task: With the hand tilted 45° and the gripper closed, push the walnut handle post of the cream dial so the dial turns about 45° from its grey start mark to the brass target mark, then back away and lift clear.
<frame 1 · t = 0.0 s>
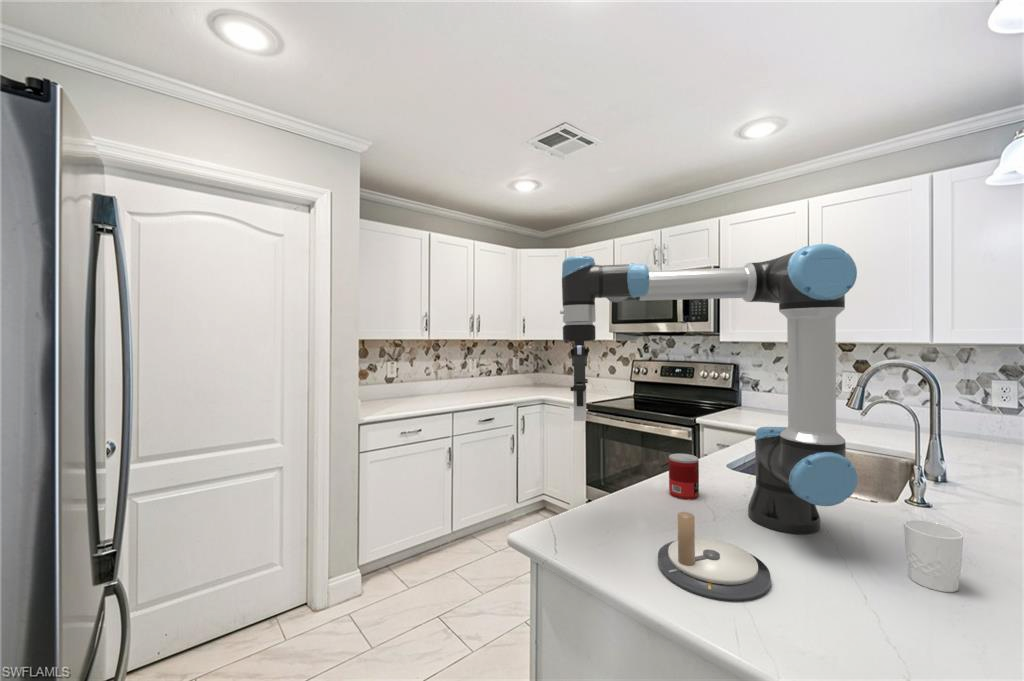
hand: (580, 415, 102), 28 cm above the counter, tool pointing down, fingers open, 13 cm apart
canned food: (683, 495, 126), on the counter
dial base: (711, 570, 86), on the counter
white cup: (932, 583, 81), on the counter
dial: (711, 536, 86), point 7 cm above the counter, hinge at 0.0°
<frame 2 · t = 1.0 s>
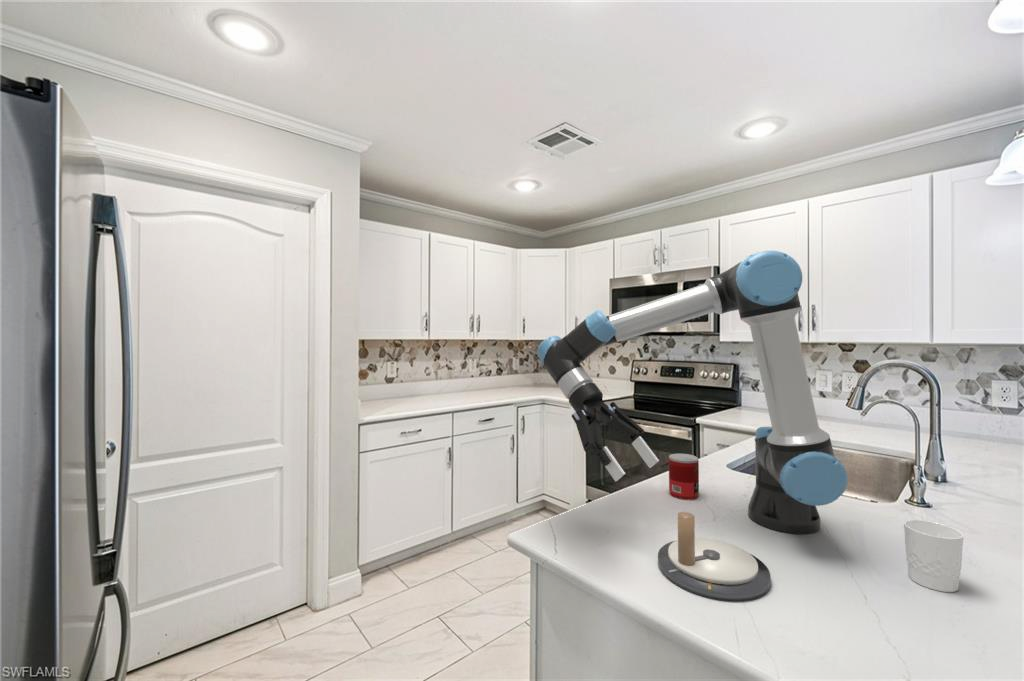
hand: (638, 470, 91), 18 cm above the counter, tool tilted 45°, fingers open, 12 cm apart
nothing on the counter moved.
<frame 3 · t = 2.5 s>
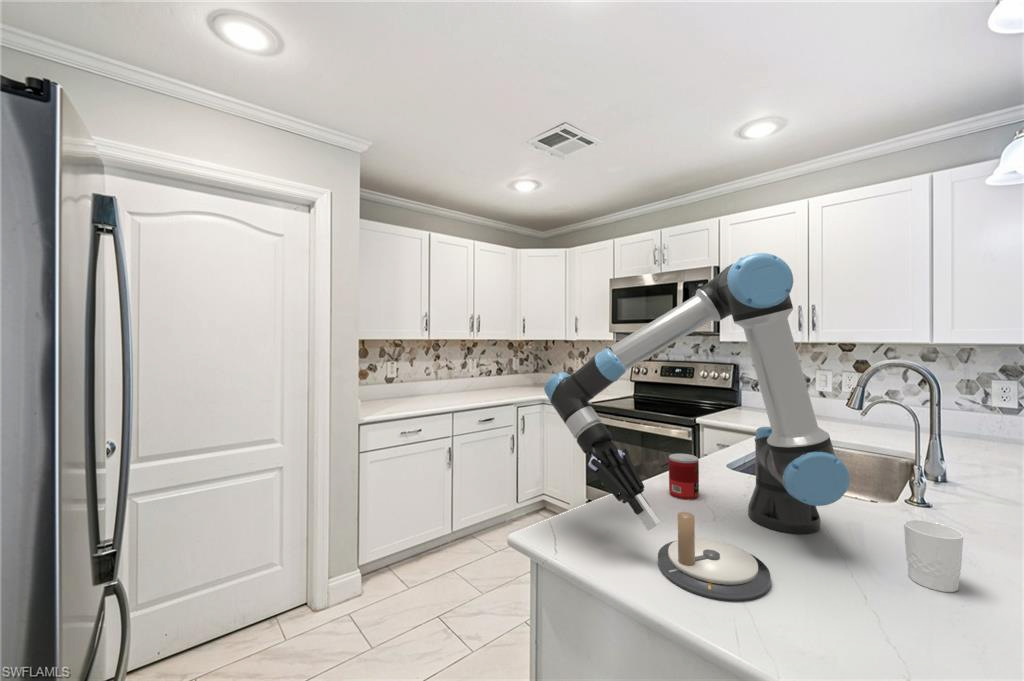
hand: (654, 526, 89), 8 cm above the counter, tool tilted 45°, fingers closed
nothing on the counter moved.
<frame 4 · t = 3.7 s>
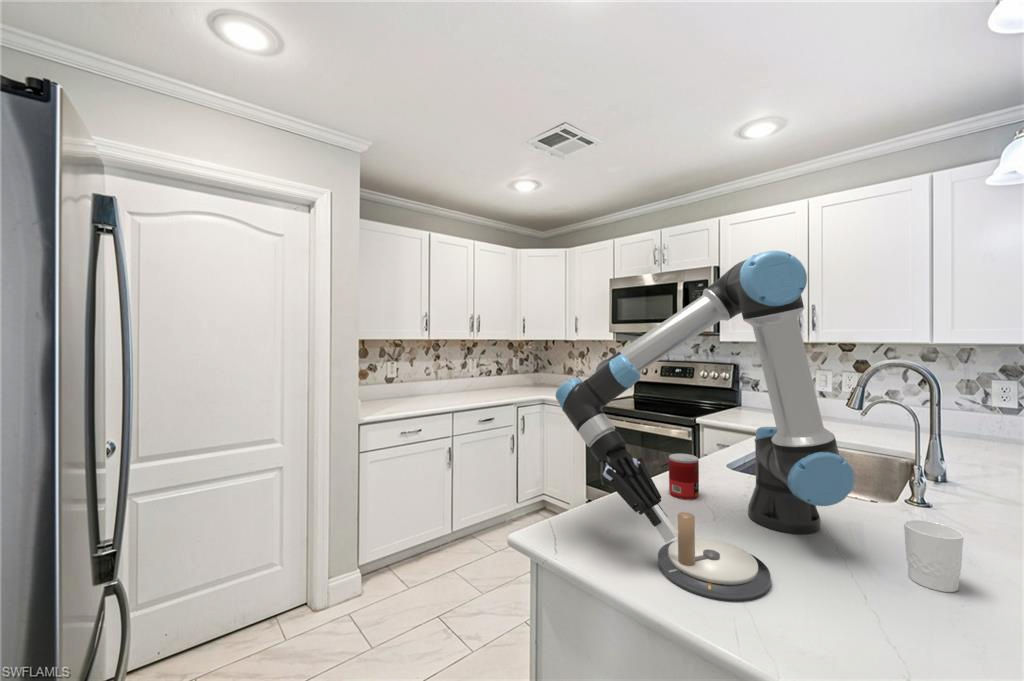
hand: (672, 538, 86), 6 cm above the counter, tool tilted 45°, fingers closed
dial: (711, 536, 86), point 7 cm above the counter, hinge at 0.3°, touching gripper
everything else where it was.
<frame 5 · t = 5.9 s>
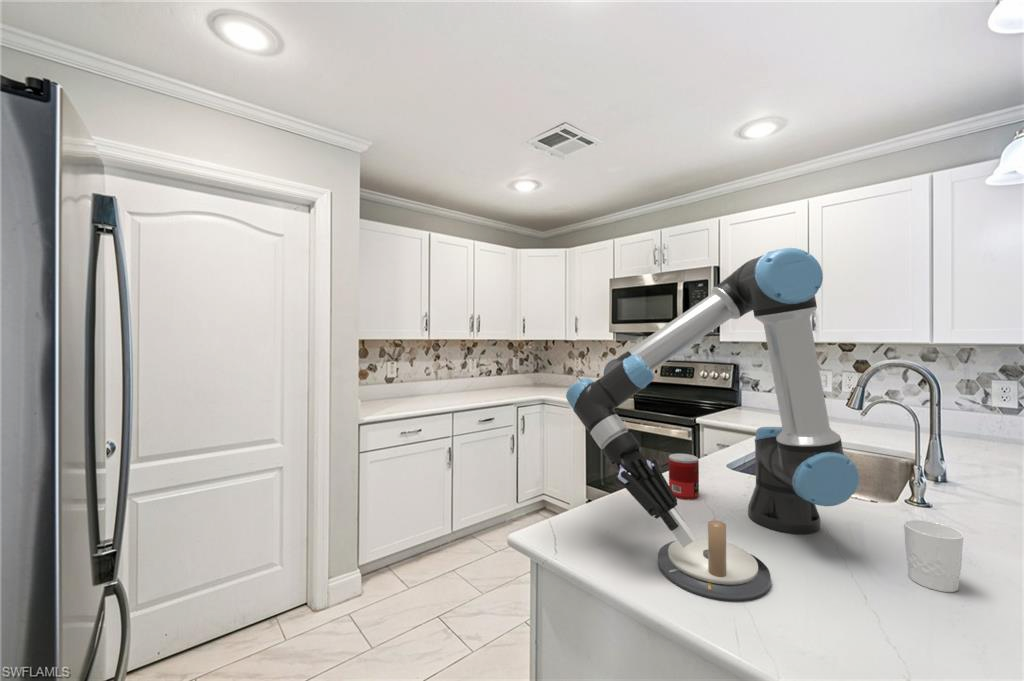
hand: (689, 543, 83), 7 cm above the counter, tool tilted 45°, fingers closed
dial: (711, 536, 86), point 7 cm above the counter, hinge at 56.3°
everything else where it was.
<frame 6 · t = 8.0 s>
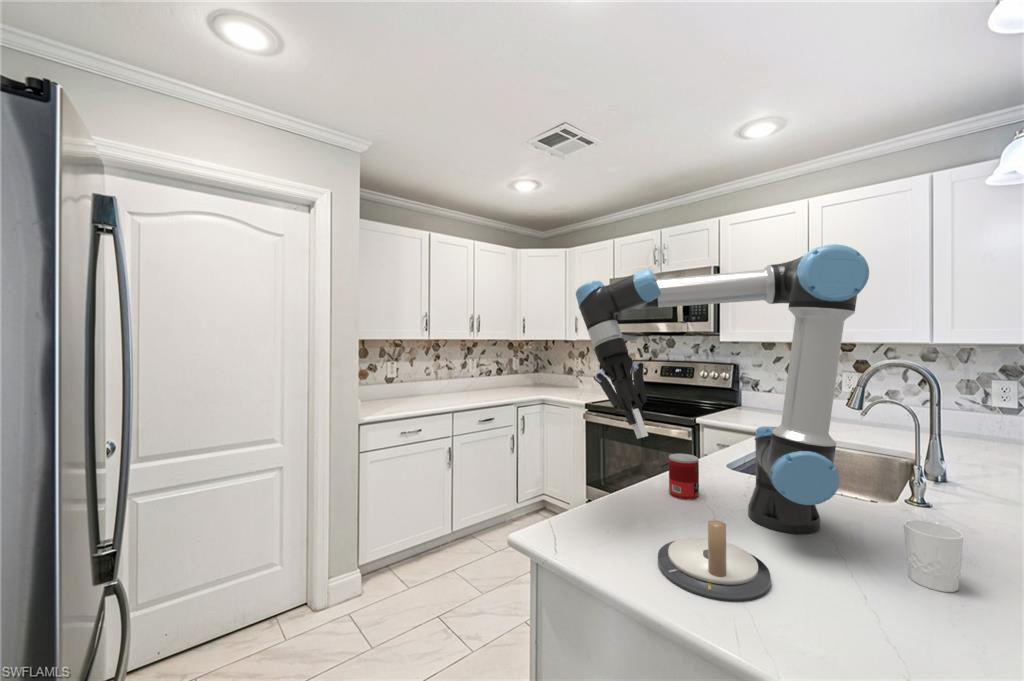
hand: (642, 437, 100), 23 cm above the counter, tool tilted 25°, fingers closed
nothing on the counter moved.
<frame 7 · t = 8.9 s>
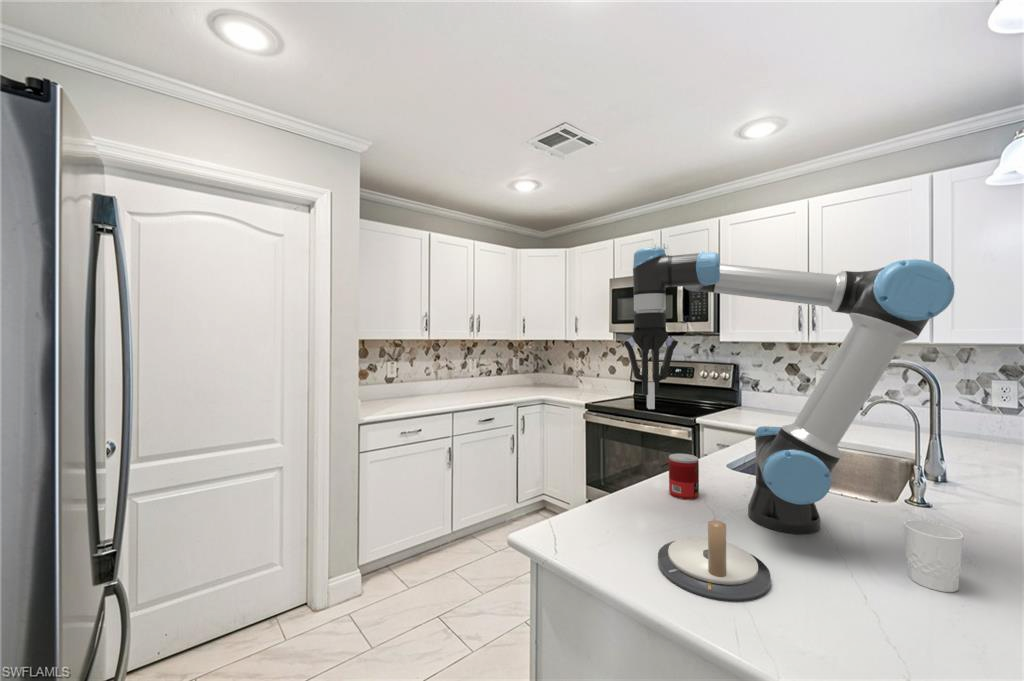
hand: (650, 408, 107), 28 cm above the counter, tool pointing down, fingers closed
nothing on the counter moved.
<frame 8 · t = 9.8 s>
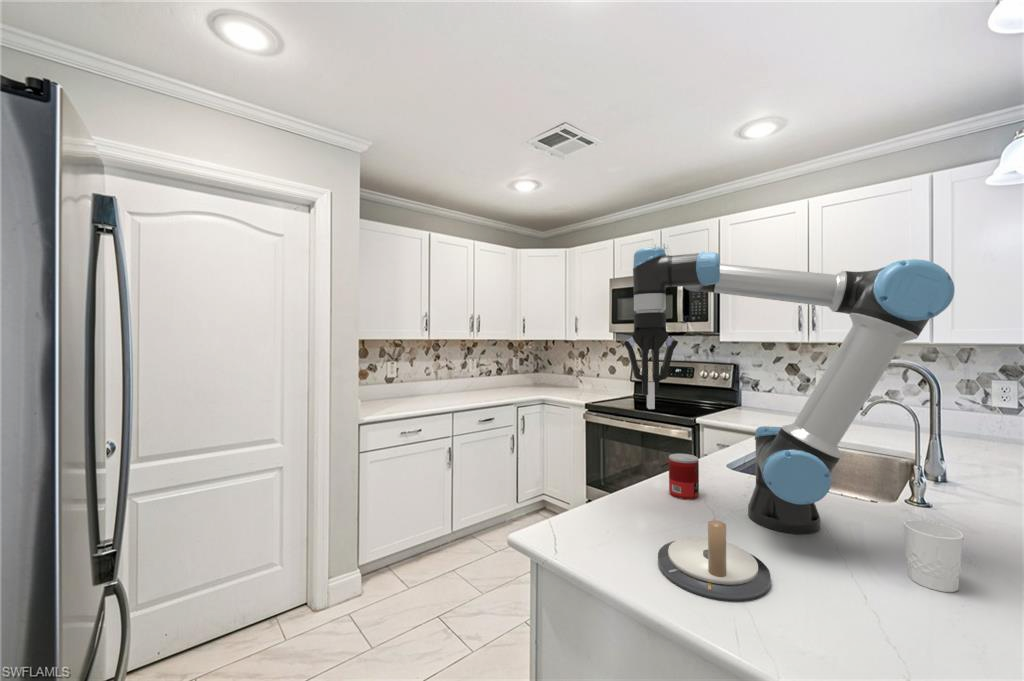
hand: (650, 407, 107), 28 cm above the counter, tool pointing down, fingers closed
nothing on the counter moved.
at the end: dial at +56° (first picture: +0°) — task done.
